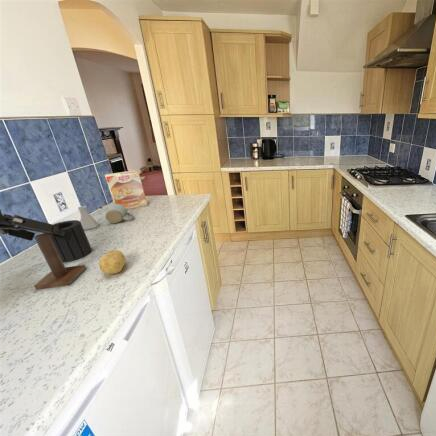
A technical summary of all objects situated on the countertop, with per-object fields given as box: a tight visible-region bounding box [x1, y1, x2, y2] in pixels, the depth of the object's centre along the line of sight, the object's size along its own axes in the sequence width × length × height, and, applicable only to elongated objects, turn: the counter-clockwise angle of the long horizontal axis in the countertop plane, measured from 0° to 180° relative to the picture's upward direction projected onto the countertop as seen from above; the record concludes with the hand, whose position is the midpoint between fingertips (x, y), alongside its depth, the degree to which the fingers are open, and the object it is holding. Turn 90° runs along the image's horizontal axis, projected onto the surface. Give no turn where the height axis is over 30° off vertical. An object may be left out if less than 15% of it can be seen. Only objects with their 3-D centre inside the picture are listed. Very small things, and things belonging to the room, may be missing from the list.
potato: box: [98, 249, 127, 275], centre depth 80 cm, size 7×11×6 cm, turn 22°
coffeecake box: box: [104, 169, 148, 210], centre depth 134 cm, size 15×7×20 cm, turn 132°
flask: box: [77, 205, 100, 231], centre depth 112 cm, size 7×7×10 cm
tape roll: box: [51, 219, 93, 263], centre depth 88 cm, size 10×10×12 cm
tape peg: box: [33, 233, 87, 290], centre depth 74 cm, size 9×9×16 cm
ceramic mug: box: [105, 203, 135, 224], centre depth 119 cm, size 11×8×8 cm
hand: (51, 236), depth 82 cm, fingers open, 13 cm apart
